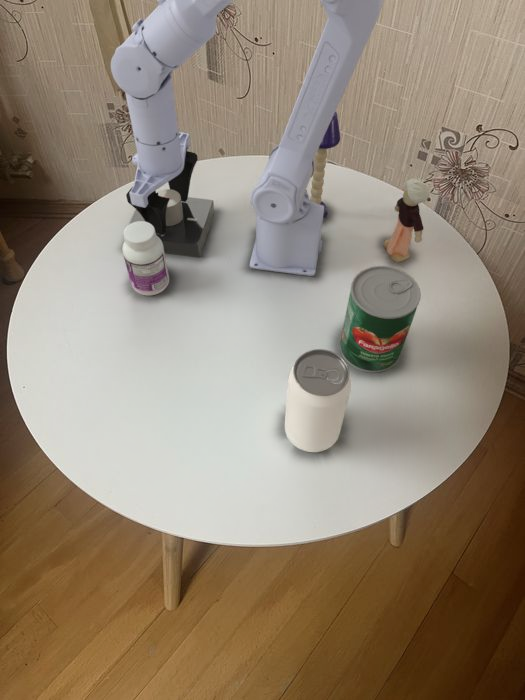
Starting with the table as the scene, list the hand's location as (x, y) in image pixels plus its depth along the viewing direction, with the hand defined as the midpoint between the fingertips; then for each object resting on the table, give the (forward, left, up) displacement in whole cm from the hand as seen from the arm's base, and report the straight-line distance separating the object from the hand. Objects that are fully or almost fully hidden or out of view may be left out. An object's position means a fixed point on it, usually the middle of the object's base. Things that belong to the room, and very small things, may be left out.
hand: (169, 215), depth 83 cm
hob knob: (0, 0, 0) cm, 0 cm away
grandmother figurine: (-34, -1, -3) cm, 34 cm away
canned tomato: (-31, +17, -3) cm, 35 cm away
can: (-25, +30, -3) cm, 39 cm away
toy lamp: (-21, -8, -3) cm, 23 cm away
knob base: (0, 0, -3) cm, 3 cm away
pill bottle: (0, +11, -3) cm, 11 cm away
